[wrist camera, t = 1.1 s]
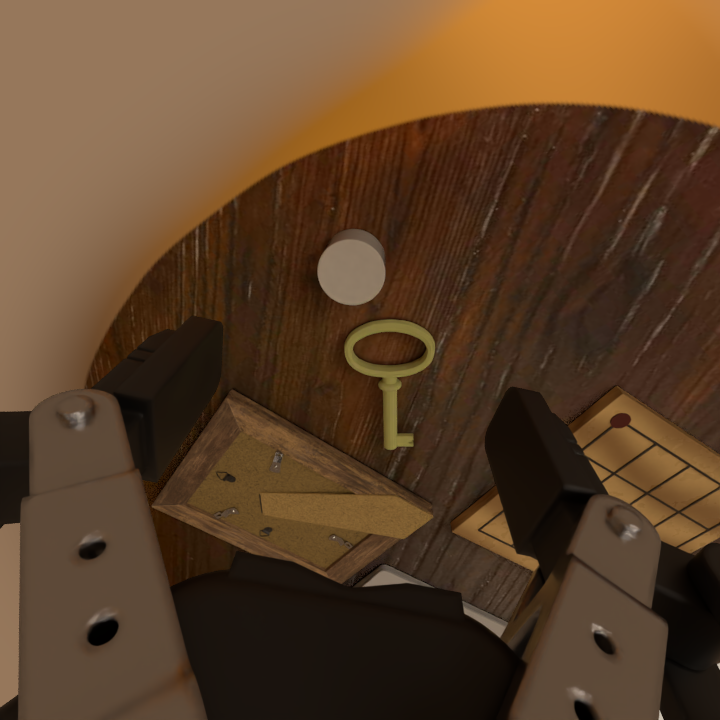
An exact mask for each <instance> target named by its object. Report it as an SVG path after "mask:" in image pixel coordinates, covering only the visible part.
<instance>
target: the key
mask: <svg viewBox="0 0 720 720" xmlns="http://www.w3.org/2000/svg"><path fill="white" fill-rule="evenodd" d="M380 332H400V333H406V334H409V335H412V336H414V337H417V338H419V339H420V340H422V341H423V342H424V343H425V345H426V351H425V353H424V355H423V356H422V357H421V358H419V359H417V360H415V361H413V362H410V363H406V364H400V365H378V364H372V363H368V362H365V361H363V360H361V359H359V358H358V357H357V356H356V355H355V354H354V352H353V346H354V344H355V343H356V342H357V341H358V340H360V339H361V338H364V337H366V336H368V335H371V334H375V333H380ZM344 351H345V357H346V359H347V362H348V363H349V364H350V366H351V367H353V368H354V369H355V370H357V371H359V372H361V373H363V374H366V375H370V376H375V377H383V379H381V380H380V381H379V383H378V386H379V388H380V389H381V390H383V422H384V447H385V448H386V449H388V450H393V449H395V448H397V446H413V441H412V440H413V434H397V390H398V389H399V388H401V381H400V380H398V379H397V377H403V376H409V375H412V374H416V373H418V372H420V371H422V370H424V369H425V368H426V367H427V366H428V365H429V364H430V363H431V362H432V359H433V357H434V352H435V342H434V340H433V337H432V336H431V335H430V333H429V332H428V331H427V330H425V329H424V328H422V327H420V326H419V325H417V324H414V323H412V322H408V321H403V320H391V319H388V320H378V321H372V322H369V323H366V324H364V325H361V326H360V327H358V328H356V329H355V330H353V331H352V332H351V333H350V334H349V336H348V337H347V338H346V341H345V343H344Z"/></svg>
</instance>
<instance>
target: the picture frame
mask: <svg viewBox="0 0 720 720" xmlns="http://www.w3.org/2000/svg"><path fill="white" fill-rule="evenodd" d="M152 507H153V508H155V509H157V510H159V511H162V512H164V513H166V514H168V515H170V516H172V517H175V518H177V519H179V520H181V521H183V522H185V523H188V524H190V525H192V526H194V527H196V528H198V529H201V530H203V531H205V532H207V533H209V534H211V535H214V536H216V537H218V538H220V539H222V540H224V541H227V542H229V543H231V544H233V545H235V546H237V547H239V548H242V549H244V550H246V551H248V552H250V553H252V554H255V555H261V556H266V557H271V558H277V559H282V560H287V561H293V562H295V563H297V564H299V565H302V566H304V567H306V568H308V569H310V570H312V571H314V572H317V573H319V574H321V575H323V576H325V577H327V578H329V579H331V580H334V581H336V582H338V583H340V584H342V583H343V582H345V581H346V580H347V579H349V578H350V577H351V576H353V575H354V574H355V573H357V572H358V571H359V570H361V569H362V568H363V567H365V566H366V565H367V564H369V563H370V562H371V561H373V560H374V559H375V558H377V557H378V556H379V555H381V554H382V553H383V552H384V551H386V550H387V549H388V548H390V547H391V546H392V545H394V544H395V543H396V542H398V541H399V540H400V539H405V538H406V537H407V536H409V535H410V534H411V533H413V532H414V531H415V530H417V529H418V528H419V527H421V526H422V525H423V524H425V523H426V522H428V521H429V520H430V519H432V518H433V511H432V510H431V509H432V504H431V503H429V502H428V501H426V500H424V499H422V498H421V497H419V496H417V495H415V494H414V493H412V492H410V491H408V490H407V489H405V488H403V487H401V486H400V485H398V484H396V483H394V482H393V481H391V480H389V479H388V478H386V477H384V476H382V475H381V474H379V473H377V472H375V471H374V470H372V469H370V468H368V467H367V466H365V465H363V464H361V463H360V462H358V461H356V460H354V459H353V458H351V457H349V456H348V455H346V454H344V453H342V452H341V451H339V450H337V449H335V448H334V447H332V446H330V445H328V444H327V443H325V442H323V441H321V440H320V439H318V438H316V437H315V436H313V435H311V434H309V433H308V432H306V431H304V430H302V429H301V428H299V427H297V426H295V425H294V424H292V423H290V422H288V421H287V420H285V419H283V418H281V417H280V416H278V415H276V414H275V413H273V412H271V411H269V410H268V409H266V408H264V407H262V406H261V405H259V404H257V403H255V402H254V401H252V400H250V399H248V398H247V397H245V396H243V395H241V394H240V393H238V392H236V391H235V390H233V389H232V390H231V391H230V392H229V394H228V395H227V397H226V398H225V399H224V401H223V402H222V404H221V405H220V407H219V408H218V410H217V411H216V413H215V414H214V415H213V417H212V418H211V420H210V421H209V423H208V424H207V426H206V427H205V428H204V430H203V431H202V433H201V434H200V436H199V437H198V439H197V440H196V442H195V443H194V444H193V446H192V447H191V449H190V450H189V452H188V453H187V455H186V456H185V457H184V459H183V460H182V462H181V463H180V465H179V466H178V468H177V469H176V470H175V472H174V473H173V475H172V476H171V478H170V479H169V481H168V482H167V484H166V485H165V486H164V488H163V489H162V491H161V492H160V494H159V495H158V497H157V498H156V500H155V502H154V503H153V505H152Z"/></svg>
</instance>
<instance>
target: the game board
mask: <svg viewBox="0 0 720 720" xmlns="http://www.w3.org/2000/svg"><path fill="white" fill-rule="evenodd" d="M568 427H569V428H570V430H571V432H572V433H573V435H574V437H575V438H576V440H577V444H578V445H580V447H581V448H582V450H583V452H584V453H585V454H584V456H585V457H587V458H588V460H589V462H590V463H591V465H592V467H593V469H594V470H595V472H596V474H597V475H598V477H599V479H600V480H601V482H602V484H603V485H604V487H605V489H606V490H607V492H608V494H609V495H610V496H614V497H616V498H619V499H621V500H623V501H625V502H627V503H628V504H630V505H631V506H633V507H634V508H636V509H637V510H638V511H640V512H641V513H642V514H643V515H644V516H645V517H646V518H647V519H648V520H649V521H650V522H651V523H652V525H653V526H654V527H655V529H656V530H657V532H658V534H659V536H660V539H661V541H663V542H665V543H668V544H670V545H672V546H674V547H677V548H679V549H681V550H683V551H685V552H688V553H692V552H694V551H696V550H697V549H699V548H701V547H703V546H705V545H707V544H709V543H710V542H712V541H714V540H716V539H718V538H720V454H718V453H717V452H715V451H714V450H712V449H711V448H709V447H708V446H706V445H705V444H703V443H702V442H700V441H699V440H697V439H696V438H694V437H693V436H691V435H690V434H688V433H687V432H685V431H684V430H682V429H681V428H679V427H678V426H676V425H675V424H673V423H672V422H670V421H669V420H667V419H666V418H664V417H663V416H661V415H660V414H658V413H657V412H655V411H654V410H652V409H651V408H649V407H648V406H646V405H645V404H643V403H642V402H640V401H639V400H637V399H636V398H634V397H633V396H631V395H630V394H628V393H627V392H625V391H624V390H622V389H621V388H619V387H618V386H615V387H614V388H613V389H612V390H610V391H609V392H608V393H607V394H606V395H604V396H603V397H602V398H601V399H600V400H598V401H597V402H596V403H595V404H593V405H592V406H591V407H590V408H589V409H587V410H586V411H585V412H584V413H583V414H581V415H580V416H579V417H578V418H577V419H575V420H574V421H573V422H572V423H570V424H569V425H568ZM451 529H452V532H453V533H455V534H457V535H459V536H461V537H463V538H466V539H468V540H470V541H472V542H474V543H476V544H478V545H480V546H482V547H484V548H486V549H488V550H490V551H492V552H494V553H497V554H499V555H501V556H503V557H505V558H507V559H509V560H511V561H513V562H515V563H517V564H519V565H521V566H523V567H525V568H528V569H530V570H532V571H535V569H536V568H537V567H538V566H539V563H538V560H537V558H535V557H530V556H525V555H520V554H516V551H515V547H514V544H513V541H512V537H511V534H510V531H509V527H508V524H507V521H506V517H505V514H504V511H503V507H502V504H501V501H500V497H499V494H498V491H497V487H496V485H495V486H494V487H493V488H492V489H491V490H489V491H488V492H487V493H486V494H485V495H483V496H482V497H481V498H480V499H479V500H477V501H476V502H475V503H474V504H472V505H471V506H470V507H469V508H468V509H466V510H465V511H464V512H463V513H462V514H460V515H459V516H458V517H457V518H456V519H454V520H453V521H452V522H451Z"/></svg>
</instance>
